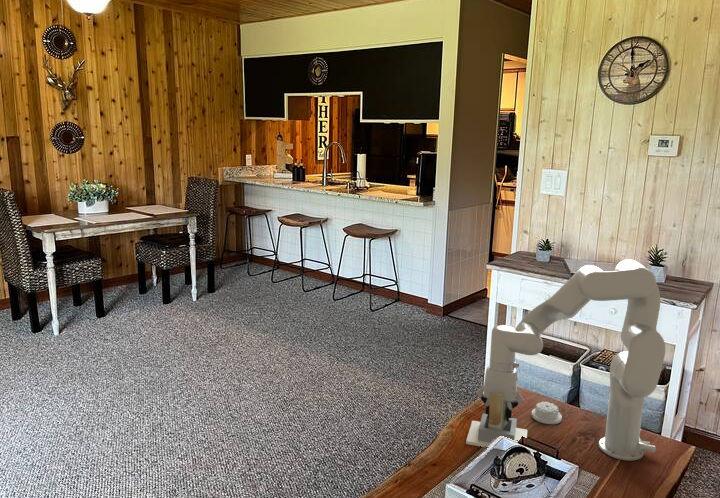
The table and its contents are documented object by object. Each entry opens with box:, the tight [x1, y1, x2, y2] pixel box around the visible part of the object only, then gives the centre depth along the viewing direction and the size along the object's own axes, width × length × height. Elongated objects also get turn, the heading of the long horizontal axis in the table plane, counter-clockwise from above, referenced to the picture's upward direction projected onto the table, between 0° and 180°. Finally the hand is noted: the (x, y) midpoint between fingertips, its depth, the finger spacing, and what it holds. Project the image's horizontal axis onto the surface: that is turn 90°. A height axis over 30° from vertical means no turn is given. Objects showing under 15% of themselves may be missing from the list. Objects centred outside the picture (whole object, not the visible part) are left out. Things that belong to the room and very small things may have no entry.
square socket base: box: [465, 412, 528, 448], centre depth 180 cm, size 18×14×5 cm
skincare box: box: [488, 392, 508, 430], centre depth 178 cm, size 6×4×12 cm
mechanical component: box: [531, 401, 563, 425], centre depth 193 cm, size 10×4×10 cm
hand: (498, 417), depth 179 cm, fingers closed on skincare box, 5 cm apart
